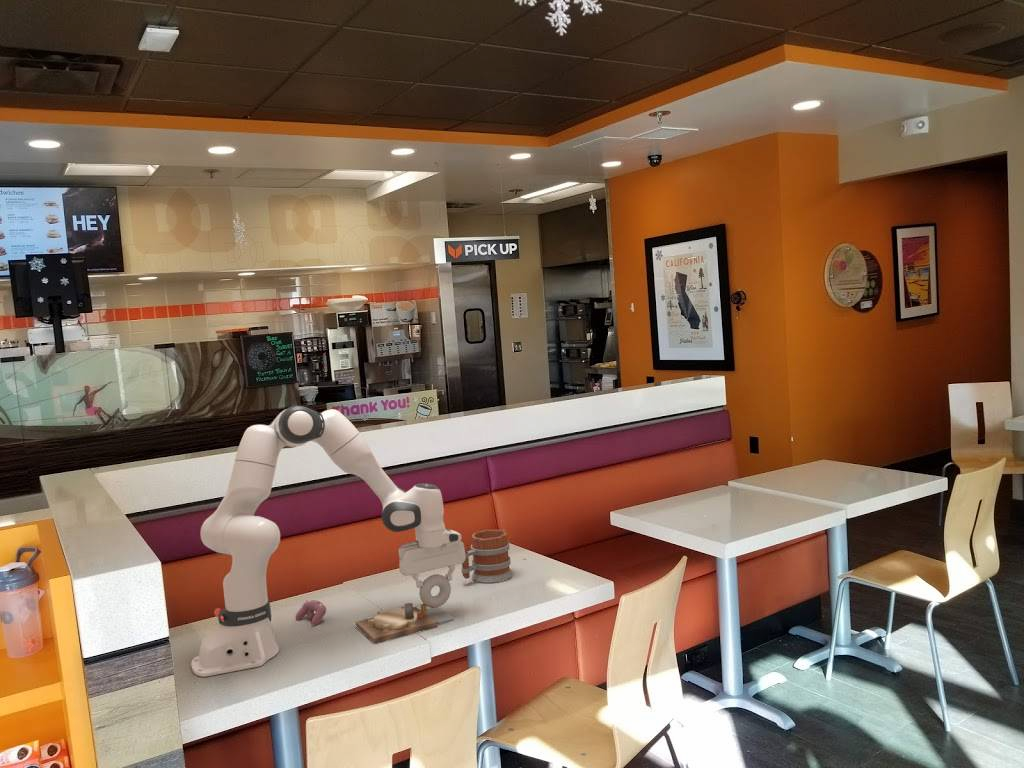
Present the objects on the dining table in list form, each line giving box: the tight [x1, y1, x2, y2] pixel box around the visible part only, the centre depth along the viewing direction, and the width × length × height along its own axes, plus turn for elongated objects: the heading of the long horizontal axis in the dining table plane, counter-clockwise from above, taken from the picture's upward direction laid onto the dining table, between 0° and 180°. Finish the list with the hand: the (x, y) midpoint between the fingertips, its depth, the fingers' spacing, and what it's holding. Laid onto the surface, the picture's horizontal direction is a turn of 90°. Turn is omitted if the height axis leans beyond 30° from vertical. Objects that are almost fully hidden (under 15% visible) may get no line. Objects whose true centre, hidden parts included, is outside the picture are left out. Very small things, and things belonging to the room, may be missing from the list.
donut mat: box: [426, 607, 455, 625], centre depth 240 cm, size 5×13×1 cm, turn 29°
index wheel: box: [368, 602, 423, 632], centre depth 233 cm, size 15×15×6 cm
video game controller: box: [295, 600, 327, 626], centre depth 244 cm, size 10×5×7 cm, turn 48°
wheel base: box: [355, 603, 439, 644], centre depth 233 cm, size 19×16×4 cm
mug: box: [461, 529, 513, 584], centre depth 271 cm, size 14×19×15 cm
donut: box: [419, 573, 452, 608], centre depth 239 cm, size 10×4×10 cm, turn 120°
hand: (434, 583), depth 239 cm, fingers closed on donut, 8 cm apart
